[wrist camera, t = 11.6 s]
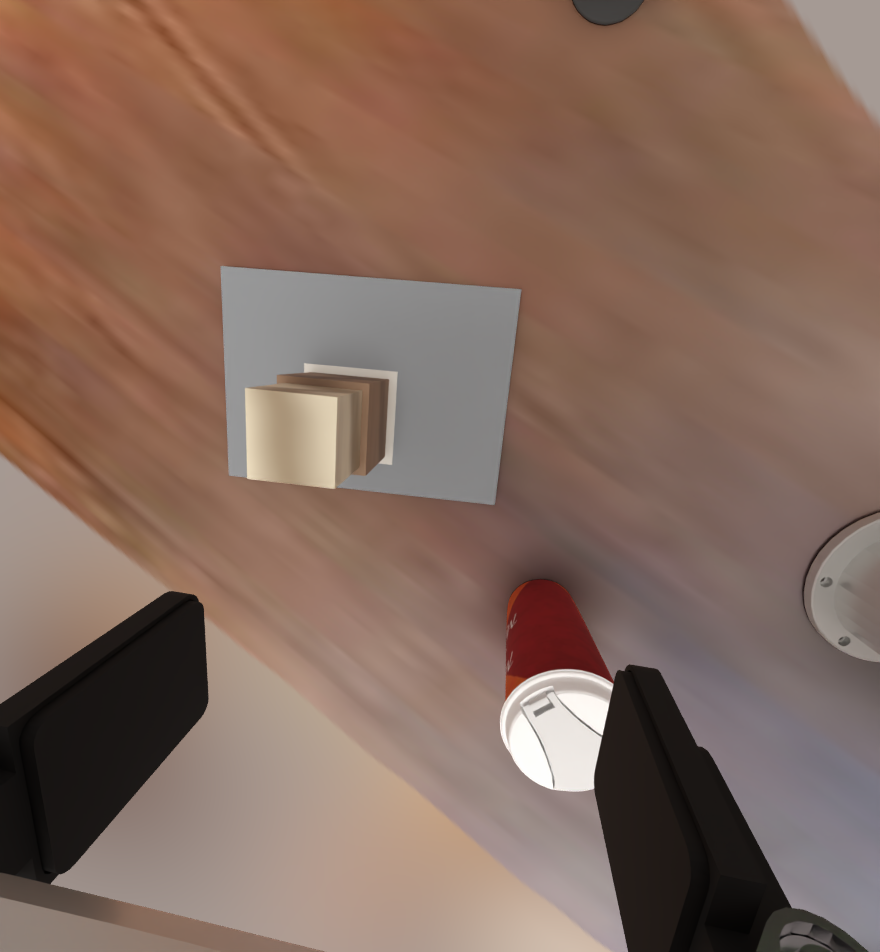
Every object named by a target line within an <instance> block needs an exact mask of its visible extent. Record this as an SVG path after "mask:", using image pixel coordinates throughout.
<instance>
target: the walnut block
mask: <svg viewBox="0 0 880 952" xmlns="http://www.w3.org/2000/svg"><path fill="white" fill-rule="evenodd" d="M281 383H291V384H301V385H311V386H321V387H331V388H341V389H351V390H361V391H362V414H361V437H360V460H359V468H358V469H357V470H356V471H355V472H354V473H352V474H351V475H361V476H366V475H367V474H368V473H369V472H370V471H371V470H372V469H373V468H374V467H375V466H376V465H377V464H378V463H379V462H380V461H381V460H382V459H383V458H384V457H385V446H386V428H387V409H388V391H389V379H381V378H370V377H359V376H348V375H338V374H327V373H316V372H307V373H294V374H282V375H277V384H281Z"/></svg>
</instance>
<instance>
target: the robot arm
mask: <svg viewBox="0 0 880 952" xmlns="http://www.w3.org/2000/svg"><path fill="white" fill-rule="evenodd" d="M804 603H805V608H806V612H807V615H808V618H809V620H810V621H811V623H812V625H813V626H814V628H815V630H816V631H817V632H818V633H819V634H820V635H821V636H822V637H823V638H824V639H825V640H827V641H828V642H829V643H830V644H832V645H833V646H834V647H835V648H837V649H838V650H840V651H842V652H844V653H846V654H848V655H850V656H852V657H856V658H859V659H862V660H865V661H872V662H880V512H879V513H876V514H874V515H871V516H868V517H866V518H863V519H861V520H859V521H857V522H855V523H854V524H852V525H850V526H848V527H846V528H845V529H844V530H842V531H841V532H840V533H838V534H837V535H836V536H835V537H833V538H832V539H831V540H830V541H829V542H828V543H827V544H826V545H825V547H824V548H823V549H822V550H821V551H820V552H819V554H818V555H817V557H816V559H815V560H814V562H813V563H812V565H811V567H810V570H809V573H808V575H807V578H806V582H805V588H804ZM207 704H208V681H207V663H206V642H205V625H204V608H203V605H202V603H200V602H199V601H198V598H197V597H196V596H195V595H192V594H186V593H180V592H174V591H169V592H167V593H165V594H163V595H162V596H160V597H159V598H157V599H156V600H154V601H153V602H151V603H150V604H148V605H147V606H145V607H144V608H142V609H141V610H139V611H138V612H136V613H135V614H133V615H132V616H131V617H129V618H128V619H126V620H124V621H123V622H122V623H120V624H119V625H117V626H116V627H114V628H113V629H111V630H110V631H108V632H107V633H106V634H104V635H102V636H101V637H99V638H98V639H96V640H95V641H93V642H92V643H90V644H89V645H87V646H86V647H84V648H83V649H81V650H80V651H78V652H77V653H75V654H74V655H72V656H71V657H70V658H68V659H67V660H65V661H64V662H62V663H61V664H59V665H58V666H56V667H55V668H53V669H52V670H50V671H49V672H47V673H46V674H44V675H43V676H41V677H40V678H38V679H37V680H36V681H34V682H33V683H31V684H30V685H28V686H26V687H25V688H24V689H22V690H21V691H19V692H18V693H16V694H15V695H13V696H12V697H10V698H9V699H7V700H6V701H4V702H3V703H1V704H0V952H324V951H320V950H316V949H312V948H307V947H304V946H300V945H296V944H291V943H288V942H284V941H279V940H275V939H272V938H267V937H264V936H260V935H256V934H252V933H248V932H244V931H240V930H235V929H232V928H228V927H224V926H219V925H215V924H211V923H207V922H203V921H199V920H195V919H191V918H187V917H183V916H179V915H175V914H171V913H167V912H163V911H159V910H155V909H151V908H147V907H142V906H138V905H134V904H130V903H126V902H122V901H118V900H113V899H109V898H105V897H101V896H97V895H93V894H88V893H84V892H80V891H76V890H72V889H68V888H64V887H59V886H55V885H51V882H52V881H53V880H54V879H55V878H56V877H57V876H58V874H63V873H65V872H66V871H68V870H69V869H71V867H72V866H73V865H74V864H75V863H76V862H77V861H78V860H79V859H80V858H81V856H82V855H83V854H84V853H85V852H86V851H87V849H88V848H89V847H90V846H91V845H92V844H93V842H94V841H95V840H96V839H97V838H98V836H99V835H100V834H101V833H102V832H103V831H104V830H105V828H106V827H107V826H108V825H109V824H110V823H111V821H112V820H113V819H114V818H115V817H116V816H117V815H118V813H119V812H120V811H121V810H122V809H123V808H124V806H125V805H126V804H127V803H128V802H129V801H130V799H131V798H132V797H133V796H134V794H136V792H137V791H138V790H139V789H140V788H141V787H142V785H143V784H144V783H145V782H146V781H147V780H148V778H149V777H150V776H151V775H152V774H153V773H154V772H155V770H156V769H157V768H158V767H159V766H160V764H161V763H162V762H163V761H164V760H165V759H166V758H167V756H168V755H169V754H170V753H171V751H173V749H174V748H175V747H176V746H177V745H178V744H179V742H180V741H181V740H182V739H183V738H184V737H185V735H186V734H187V733H188V732H189V731H190V729H191V728H192V727H193V726H194V725H195V724H196V723H197V722H198V720H199V719H200V718H201V717H202V715H203V714H204V712H205V710H206V707H207ZM594 790H595V796H596V801H597V805H598V810H599V815H600V820H601V824H602V829H603V834H604V839H605V843H606V848H607V853H608V858H609V862H610V867H611V872H612V877H613V881H614V886H615V891H616V896H617V900H618V905H619V910H620V915H621V919H622V924H623V929H624V934H625V938H626V943H627V948H628V952H868V950H866V949H865V948H864V947H863V946H862V945H860V944H859V943H858V942H857V941H856V940H855V939H853V938H852V937H851V936H850V935H849V934H848V933H846V932H845V931H844V930H842V929H840V928H839V927H837V926H836V925H834V924H832V923H831V922H829V921H828V920H826V919H825V918H823V917H820V916H818V915H815V914H813V913H811V912H808V911H806V910H803V909H795V908H792V907H791V906H790V904H789V902H788V900H787V898H786V896H785V894H784V892H783V890H782V889H781V887H780V885H779V883H778V881H777V879H776V877H775V875H774V873H773V871H772V870H771V868H770V866H769V864H768V862H767V860H766V858H765V856H764V854H763V853H762V851H761V849H760V847H759V845H758V843H757V841H756V839H755V837H754V836H753V834H752V832H751V830H750V828H749V826H748V824H747V822H746V820H745V818H744V817H743V815H742V813H741V811H740V809H739V807H738V805H737V803H736V801H735V800H734V798H733V796H732V794H731V792H730V790H729V788H728V786H727V784H726V783H725V781H724V779H723V777H722V775H721V773H720V771H719V769H718V767H717V765H716V764H715V762H714V760H713V758H712V757H711V755H710V754H709V752H708V751H707V750H706V749H704V748H703V747H699V746H697V744H696V742H695V740H694V738H693V736H692V734H691V732H690V730H689V728H688V726H687V724H686V723H685V721H684V719H683V717H682V715H681V713H680V711H679V709H678V707H677V705H676V703H675V701H674V699H673V697H672V695H671V693H670V691H669V689H668V687H667V685H666V683H665V681H664V679H663V677H662V675H661V673H660V672H659V670H657V669H654V668H648V667H642V666H635V665H627V667H626V669H625V671H621V670H618V671H617V673H616V676H615V680H614V684H613V689H612V694H611V698H610V703H609V707H608V712H607V717H606V721H605V726H604V730H603V735H602V739H601V744H600V749H599V753H598V758H597V762H596V767H595V772H594Z"/></svg>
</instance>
